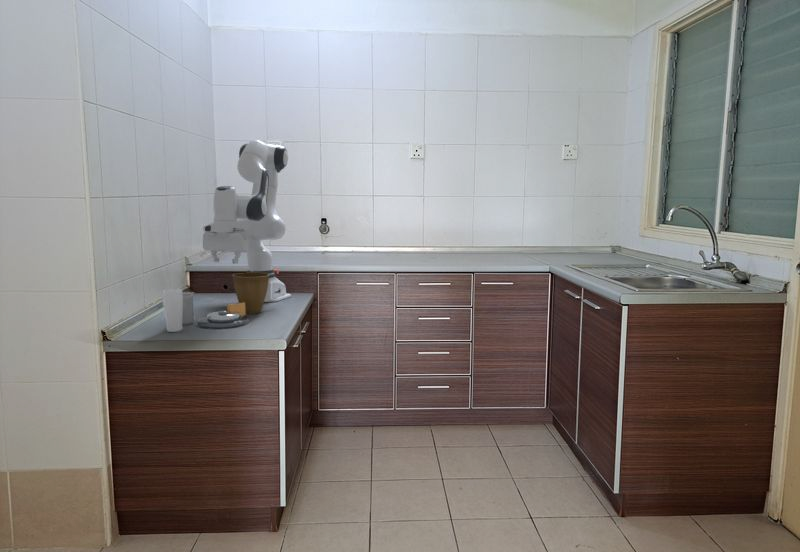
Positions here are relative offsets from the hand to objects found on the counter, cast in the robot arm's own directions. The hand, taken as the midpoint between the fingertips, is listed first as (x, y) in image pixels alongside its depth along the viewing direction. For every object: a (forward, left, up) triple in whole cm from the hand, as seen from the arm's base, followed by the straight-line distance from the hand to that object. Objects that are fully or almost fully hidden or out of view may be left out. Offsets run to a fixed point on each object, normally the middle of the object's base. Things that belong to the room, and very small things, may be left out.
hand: (225, 262), depth 230 cm
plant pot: (-14, 0, -23) cm, 26 cm away
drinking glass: (+25, -1, -23) cm, 34 cm away
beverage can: (+15, -7, -23) cm, 28 cm away
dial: (+6, +5, -21) cm, 22 cm away
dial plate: (+7, +5, -22) cm, 24 cm away
